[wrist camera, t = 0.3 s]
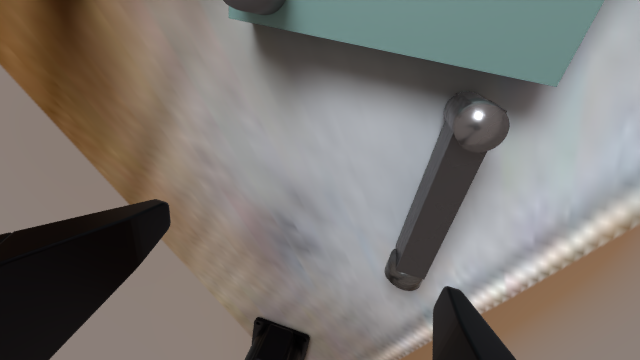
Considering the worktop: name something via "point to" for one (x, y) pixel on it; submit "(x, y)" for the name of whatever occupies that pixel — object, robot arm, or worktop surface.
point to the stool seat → (443, 29)
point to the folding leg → (445, 184)
